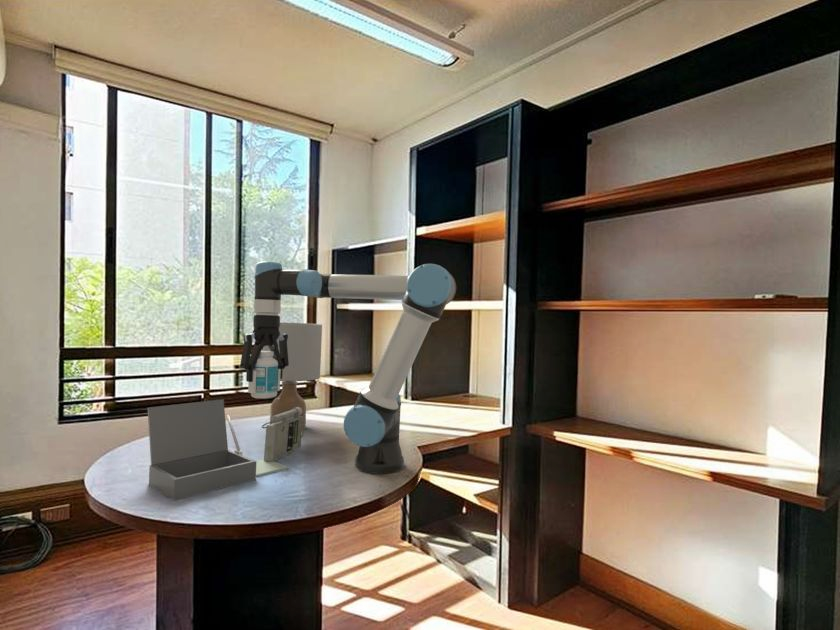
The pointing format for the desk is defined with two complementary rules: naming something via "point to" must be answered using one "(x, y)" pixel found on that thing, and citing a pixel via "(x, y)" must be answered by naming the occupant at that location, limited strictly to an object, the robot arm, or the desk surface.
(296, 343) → the lamp
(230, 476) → the case
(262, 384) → the pill bottle
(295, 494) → the desk surface
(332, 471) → the desk surface
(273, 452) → the geiger counter
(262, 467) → the mat
